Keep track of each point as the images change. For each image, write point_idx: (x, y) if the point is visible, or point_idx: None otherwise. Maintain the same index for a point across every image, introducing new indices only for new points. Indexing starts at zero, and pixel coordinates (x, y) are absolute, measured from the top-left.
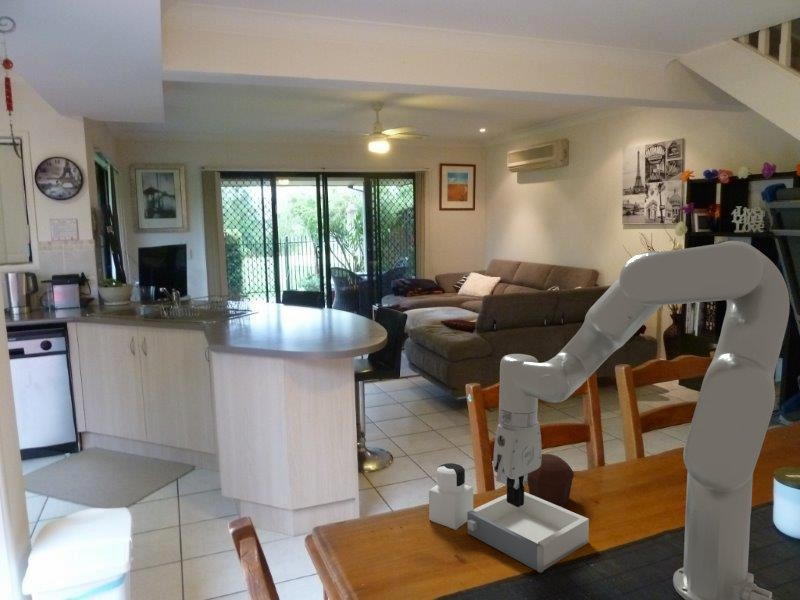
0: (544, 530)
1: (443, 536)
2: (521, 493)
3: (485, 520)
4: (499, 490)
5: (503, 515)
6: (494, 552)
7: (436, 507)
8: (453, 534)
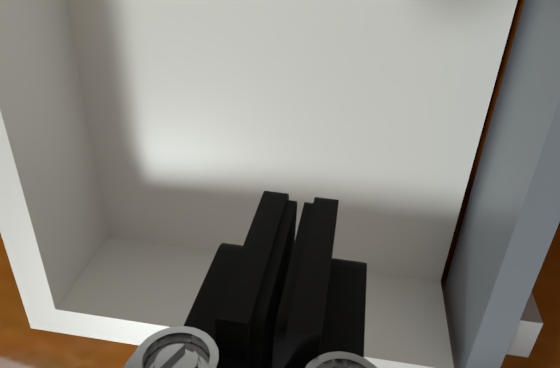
0: (150, 21)
1: (549, 355)
2: (278, 277)
3: (527, 291)
4: (43, 364)
5: None
6: None
7: None
8: None
